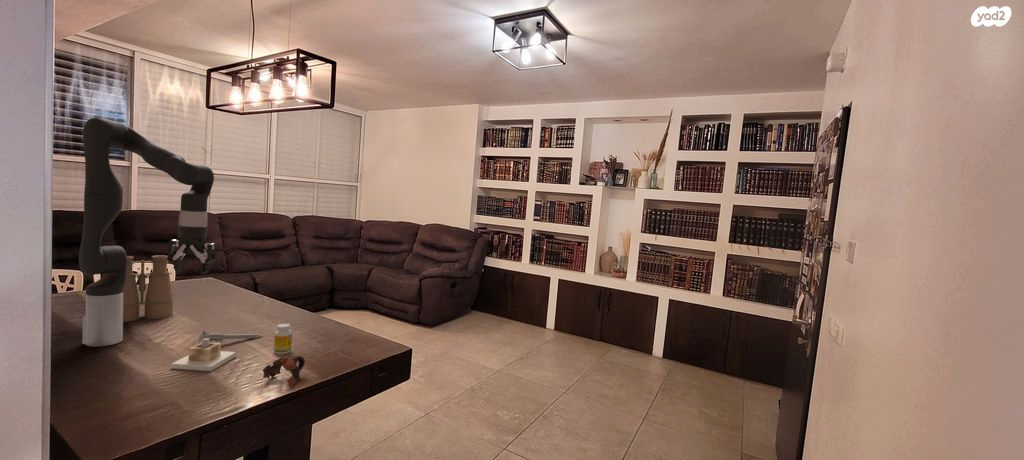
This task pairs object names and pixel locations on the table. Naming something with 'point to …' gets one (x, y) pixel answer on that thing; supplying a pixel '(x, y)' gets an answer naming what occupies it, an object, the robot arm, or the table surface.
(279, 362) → the brown curved piece
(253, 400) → the table surface
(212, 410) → the table surface
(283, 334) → the supplement bottle
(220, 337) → the caliper
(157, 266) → the binoculars
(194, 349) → the hollow block
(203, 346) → the peg base plate
